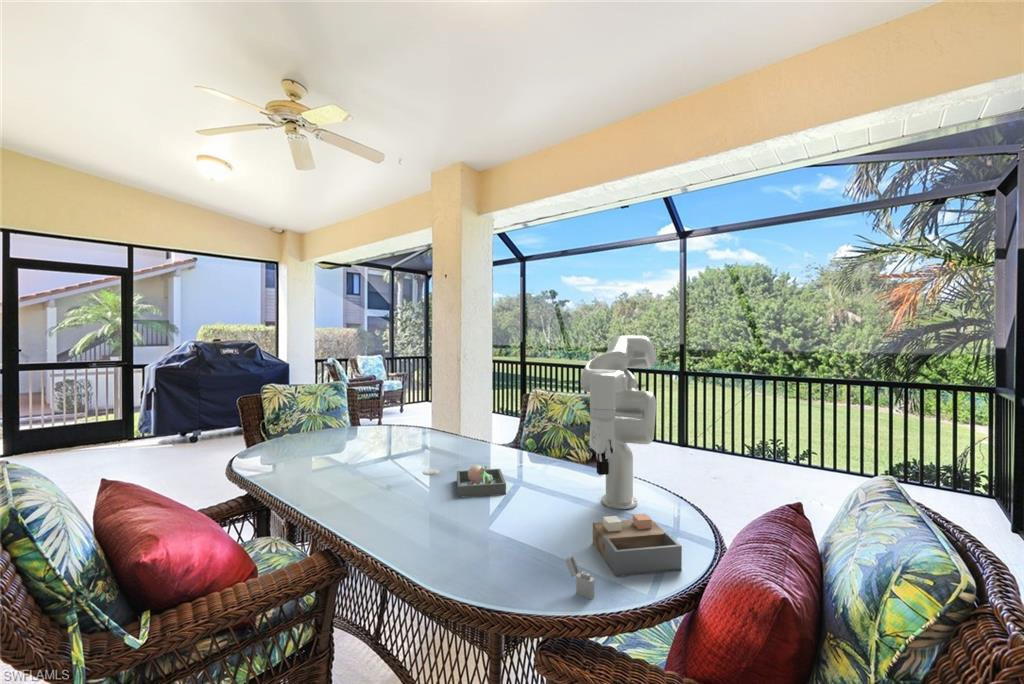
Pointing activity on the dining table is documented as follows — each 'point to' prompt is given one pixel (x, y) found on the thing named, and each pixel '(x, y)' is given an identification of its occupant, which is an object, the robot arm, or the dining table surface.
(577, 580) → the lighter
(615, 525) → the cream block
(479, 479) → the orange and green lump
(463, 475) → the dark shallow tray
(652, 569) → the box
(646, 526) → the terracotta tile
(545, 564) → the dining table surface
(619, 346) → the robot arm
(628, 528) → the bench plate
